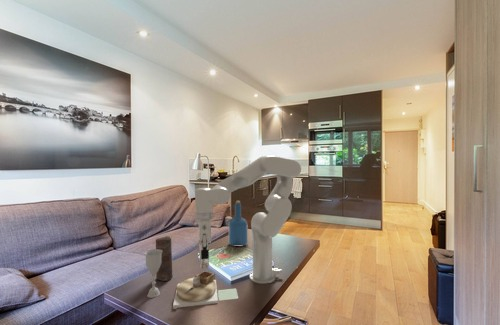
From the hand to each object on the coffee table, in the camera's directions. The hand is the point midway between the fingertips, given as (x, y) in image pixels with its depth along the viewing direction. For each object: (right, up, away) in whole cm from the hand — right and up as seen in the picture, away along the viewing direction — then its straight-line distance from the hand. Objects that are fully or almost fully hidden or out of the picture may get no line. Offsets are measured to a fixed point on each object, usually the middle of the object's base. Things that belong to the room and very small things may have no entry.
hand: (204, 256), depth 106 cm
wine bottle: (+12, -15, +59) cm, 62 cm away
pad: (+11, -14, -6) cm, 19 cm away
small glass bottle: (0, -5, 0) cm, 4 cm away
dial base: (-3, -14, -5) cm, 15 cm away
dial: (-2, -12, -5) cm, 14 cm away
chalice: (-21, -15, -5) cm, 26 cm away
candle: (-22, -15, +9) cm, 28 cm away
